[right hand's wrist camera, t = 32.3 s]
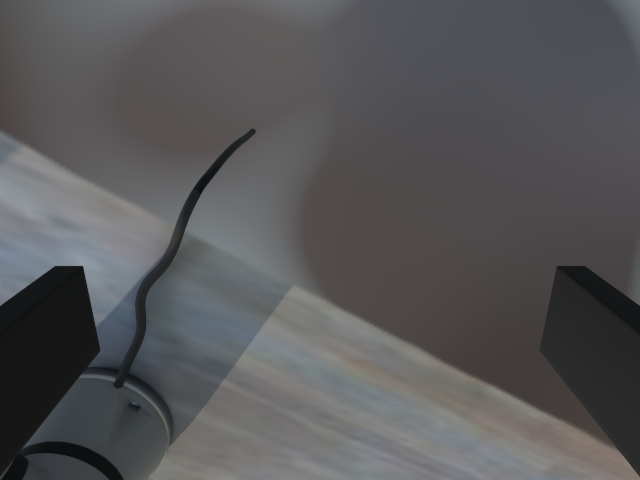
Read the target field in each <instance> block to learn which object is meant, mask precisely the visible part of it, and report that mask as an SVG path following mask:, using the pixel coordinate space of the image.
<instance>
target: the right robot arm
mask: <svg viewBox="0 0 640 480" xmlns="http://www.w3.org/2000/svg"><path fill="white" fill-rule="evenodd" d="M255 133H256V130H255V129H251V130H250V131H248V132H247V133H246V134H244V135H243V136H242V137H240V138H239V139H237V140H236V141H235V142H233V143H232V144H231V145H230V146H229V147H228V148H227V149H226V150H225V151H224V152H223V153H222V154H221V155H220V156H219V157H218V158H217V159H216V161H215V162H214V163H213V164H212V165H211V166H210V168H209V169H208V170H207V171H206V173H205V174H204V175H203V176H202V177H201V178H200V180H199V181H198V182H197V184H196V185H195V187H194V188H193V190H192V191H191V193H190V195H189V197H188V198H187V200H186V202H185V204H184V206H183V208H182V211H181V213H180V215H179V218H178V221H177V224H176V227H175V230H174V233H173V236H172V239H171V242H170V244H169V247H168V249H167V251H166V253H165V255H164V257H163V258H162V260H161V261H160V263H159V264H158V265H157V266H156V267H155V268H154V269H153V271H152V272H151V273H150V274H149V275H148V276H147V277H146V278H145V279H144V281H143V282H142V284H141V286H140V288H139V290H138V293H137V297H136V304H135V308H136V320H137V328H136V334H135V337H134V340H133V342H132V344H131V346H130V348H129V350H128V352H127V354H126V357H125V359H124V361H123V363H122V366H121V368H120V371H115V370H111V369H105V368H87V367H88V365H89V364H90V363H91V362H92V360H93V359H94V358H95V357H96V355H97V354H98V353H99V352H100V346H99V341H98V337H97V332H96V327H95V322H94V317H93V312H92V308H91V303H90V298H89V293H88V288H87V283H86V279H85V274H84V269H83V266H55V267H53V268H52V269H51V270H49V271H48V272H46V273H45V274H44V275H42V276H41V277H40V278H38V279H37V280H35V281H34V282H33V283H31V284H30V285H29V286H27V287H26V288H24V289H23V290H22V291H20V292H19V293H17V294H16V295H15V296H13V297H12V298H11V299H9V300H8V301H6V302H5V303H4V304H2V305H1V306H0V480H147V478H148V477H149V476H150V475H151V474H152V473H153V472H154V471H155V470H156V469H157V467H158V466H159V465H160V464H161V462H162V461H163V459H164V457H165V455H166V453H167V450H168V448H169V445H170V443H171V440H172V435H173V423H172V418H171V415H170V413H169V410H168V408H167V406H166V405H165V403H164V402H163V400H162V399H161V398H160V396H159V395H158V394H157V393H156V392H155V391H154V390H153V389H151V388H150V387H149V386H148V385H146V384H145V383H143V382H142V381H140V380H138V379H137V378H135V377H133V376H130V375H128V372H129V370H130V367H131V365H132V363H133V360H134V358H135V356H136V354H137V352H138V350H139V348H140V346H141V344H142V341H143V338H144V335H145V330H146V312H145V300H146V296H147V293H148V291H149V289H150V287H151V286H152V285H153V283H154V282H155V281H156V280H157V279H158V278H159V277H160V276H161V275H162V274H163V273H164V272H165V271H166V269H167V268H168V267H169V265H170V264H171V262H172V260H173V259H174V257H175V255H176V253H177V250H178V248H179V245H180V243H181V240H182V237H183V234H184V231H185V228H186V225H187V223H188V220H189V217H190V215H191V213H192V211H193V209H194V207H195V205H196V203H197V201H198V199H199V197H200V195H201V194H202V192H203V190H204V189H205V187H206V186H207V185H208V183H209V182H210V181H211V180H212V178H213V177H214V176H215V175H216V173H217V172H218V171H219V169H220V168H221V167H222V165H223V164H224V163H225V162H226V161H227V160H228V158H229V157H230V156H231V155H232V154H233V153H234V152H235V151H236V150H237V149H238V148H239V147H240V146H241V145H242V144H244V143H245V142H246V141H247V140H249V139H250V138H251V137H252V136H253V135H254V134H255ZM540 352H541V353H542V354H543V355H544V357H545V358H546V359H547V360H548V362H549V363H550V364H551V366H552V367H553V368H554V369H555V371H556V372H557V373H558V374H559V376H560V377H561V378H562V379H563V381H564V382H565V383H566V384H567V386H568V387H569V388H570V389H571V391H572V392H573V393H574V394H575V396H576V397H577V398H578V399H579V401H580V402H581V403H582V404H583V406H584V407H585V408H586V410H587V411H588V412H589V413H590V415H591V416H592V417H593V418H594V420H595V421H596V422H597V423H598V425H599V426H600V427H601V428H602V430H603V431H604V432H605V433H606V435H607V436H608V437H609V438H610V440H611V441H612V442H613V443H614V445H615V446H616V447H617V449H618V450H619V451H620V452H621V454H622V455H623V456H624V457H625V459H626V460H627V461H628V462H629V464H630V465H631V466H632V467H633V469H634V470H635V471H636V472H637V474H638V475H639V476H640V306H639V305H638V304H636V303H635V302H634V301H632V300H631V299H629V298H628V297H627V296H625V295H624V294H623V293H621V292H620V291H618V290H617V289H616V288H614V287H613V286H611V285H610V284H609V283H607V282H606V281H605V280H603V279H602V278H600V277H599V276H598V275H596V274H595V273H594V272H592V271H591V270H589V269H588V268H587V267H585V266H557V269H556V274H555V279H554V283H553V288H552V293H551V298H550V303H549V308H548V312H547V317H546V322H545V327H544V332H543V337H542V341H541V347H540Z"/></svg>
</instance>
